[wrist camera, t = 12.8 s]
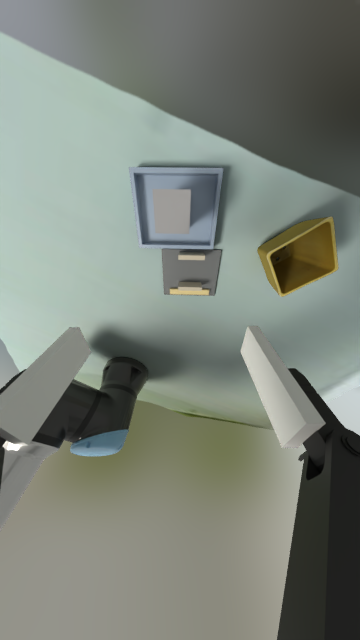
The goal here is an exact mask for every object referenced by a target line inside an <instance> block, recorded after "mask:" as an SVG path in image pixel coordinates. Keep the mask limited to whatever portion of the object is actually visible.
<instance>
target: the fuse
mask: <svg viewBox="0 0 360 640" xmlns="http://www.w3.org/2000/svg"><path fill="white" fill-rule="evenodd" d="M152 190H153V205H154V219H155V233H164V234H189V227H190V202H191V190H189V189H152Z"/></svg>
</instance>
